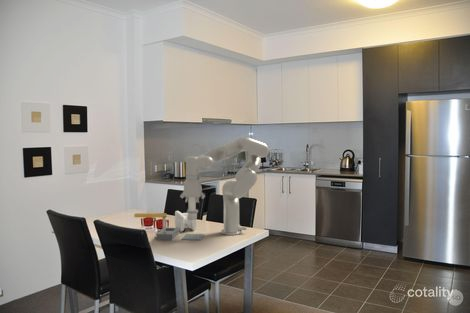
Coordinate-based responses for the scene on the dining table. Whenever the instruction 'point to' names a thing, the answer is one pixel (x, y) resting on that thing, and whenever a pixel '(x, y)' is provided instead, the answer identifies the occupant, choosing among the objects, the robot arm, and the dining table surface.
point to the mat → (193, 237)
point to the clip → (150, 215)
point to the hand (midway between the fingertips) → (192, 208)
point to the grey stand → (167, 232)
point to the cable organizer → (184, 221)
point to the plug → (192, 208)
